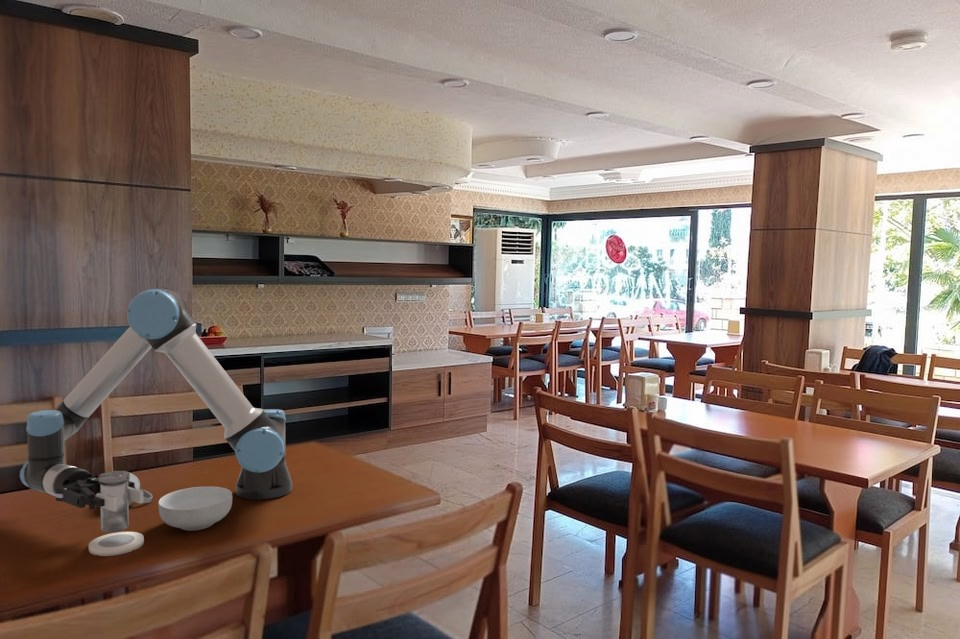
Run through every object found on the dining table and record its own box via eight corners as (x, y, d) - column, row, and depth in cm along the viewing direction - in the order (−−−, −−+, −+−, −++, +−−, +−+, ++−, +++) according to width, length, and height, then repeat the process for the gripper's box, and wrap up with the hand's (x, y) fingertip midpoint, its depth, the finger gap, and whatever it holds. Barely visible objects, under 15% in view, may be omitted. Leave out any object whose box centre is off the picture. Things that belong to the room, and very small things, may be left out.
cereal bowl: (182, 511, 182) (181, 484, 181) (244, 514, 180) (243, 487, 179) (144, 536, 165) (143, 506, 164) (212, 540, 163) (211, 510, 163)
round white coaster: (152, 537, 164) (152, 531, 164) (128, 556, 153) (127, 550, 153) (106, 536, 164) (106, 530, 164) (78, 555, 153) (77, 549, 153)
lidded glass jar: (135, 522, 161) (135, 471, 160) (121, 532, 155) (120, 479, 154) (109, 521, 162) (108, 470, 161) (93, 532, 155) (92, 478, 154)
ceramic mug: (106, 511, 181) (106, 481, 180) (108, 501, 188) (108, 473, 188) (152, 506, 185) (152, 477, 185) (152, 497, 193) (152, 469, 192)
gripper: (107, 488, 175) (166, 506, 163) (28, 509, 159) (87, 530, 148) (106, 458, 175) (166, 474, 163) (27, 476, 159) (86, 495, 147)
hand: (128, 501), depth 155 cm, fingers closed on lidded glass jar, 5 cm apart
